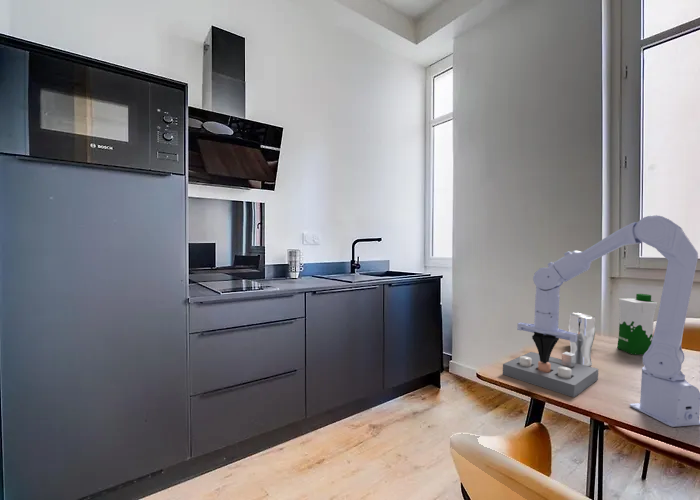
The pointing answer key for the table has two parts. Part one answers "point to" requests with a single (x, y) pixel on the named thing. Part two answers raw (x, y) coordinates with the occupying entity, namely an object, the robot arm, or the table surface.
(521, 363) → the far button
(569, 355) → the slider knob
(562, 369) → the near button
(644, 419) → the table surface
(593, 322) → the beer glass
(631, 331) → the milk carton
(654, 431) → the table surface
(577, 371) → the control panel
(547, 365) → the middle button
